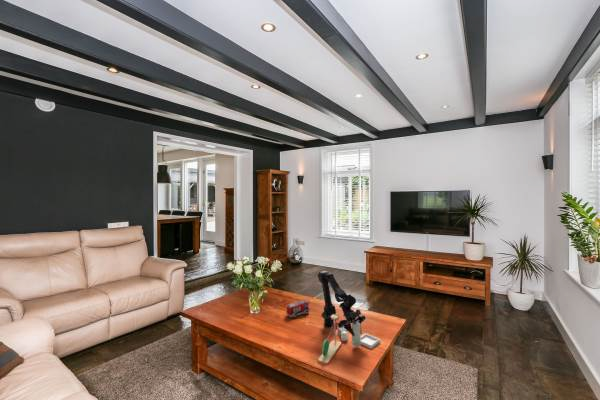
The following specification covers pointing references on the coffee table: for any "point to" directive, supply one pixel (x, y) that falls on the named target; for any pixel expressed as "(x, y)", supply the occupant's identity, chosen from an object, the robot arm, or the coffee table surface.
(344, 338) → the white rounded cylinder
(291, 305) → the toy fire truck
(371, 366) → the coffee table surface
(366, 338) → the white tray
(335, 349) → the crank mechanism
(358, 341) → the pale green cylinder
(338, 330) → the grey block
